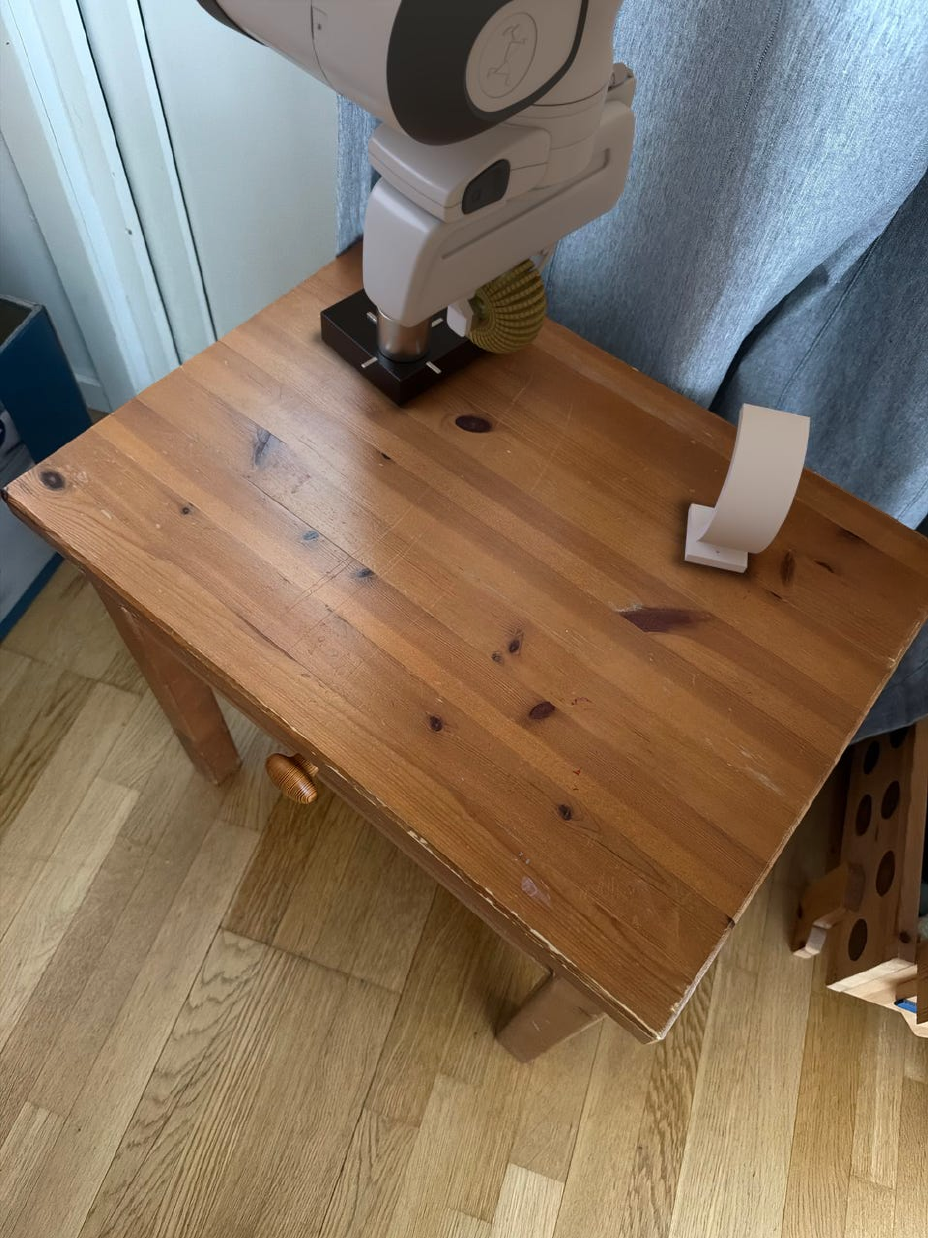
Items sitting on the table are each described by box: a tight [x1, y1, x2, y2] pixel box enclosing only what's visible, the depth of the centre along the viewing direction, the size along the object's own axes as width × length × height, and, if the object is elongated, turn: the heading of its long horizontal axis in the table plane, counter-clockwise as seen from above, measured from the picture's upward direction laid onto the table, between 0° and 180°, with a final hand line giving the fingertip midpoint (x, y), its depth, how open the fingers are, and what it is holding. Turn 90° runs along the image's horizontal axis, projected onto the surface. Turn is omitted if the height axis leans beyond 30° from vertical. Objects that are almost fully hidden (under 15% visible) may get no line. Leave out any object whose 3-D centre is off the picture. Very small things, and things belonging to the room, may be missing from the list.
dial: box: [376, 307, 433, 362], centre depth 71 cm, size 4×4×4 cm
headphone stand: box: [684, 402, 811, 574], centre depth 64 cm, size 5×6×12 cm
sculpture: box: [466, 258, 547, 355], centre depth 60 cm, size 8×4×8 cm, turn 46°
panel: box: [319, 287, 489, 408], centre depth 76 cm, size 13×11×3 cm
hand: (491, 310), depth 61 cm, fingers closed on sculpture, 4 cm apart
